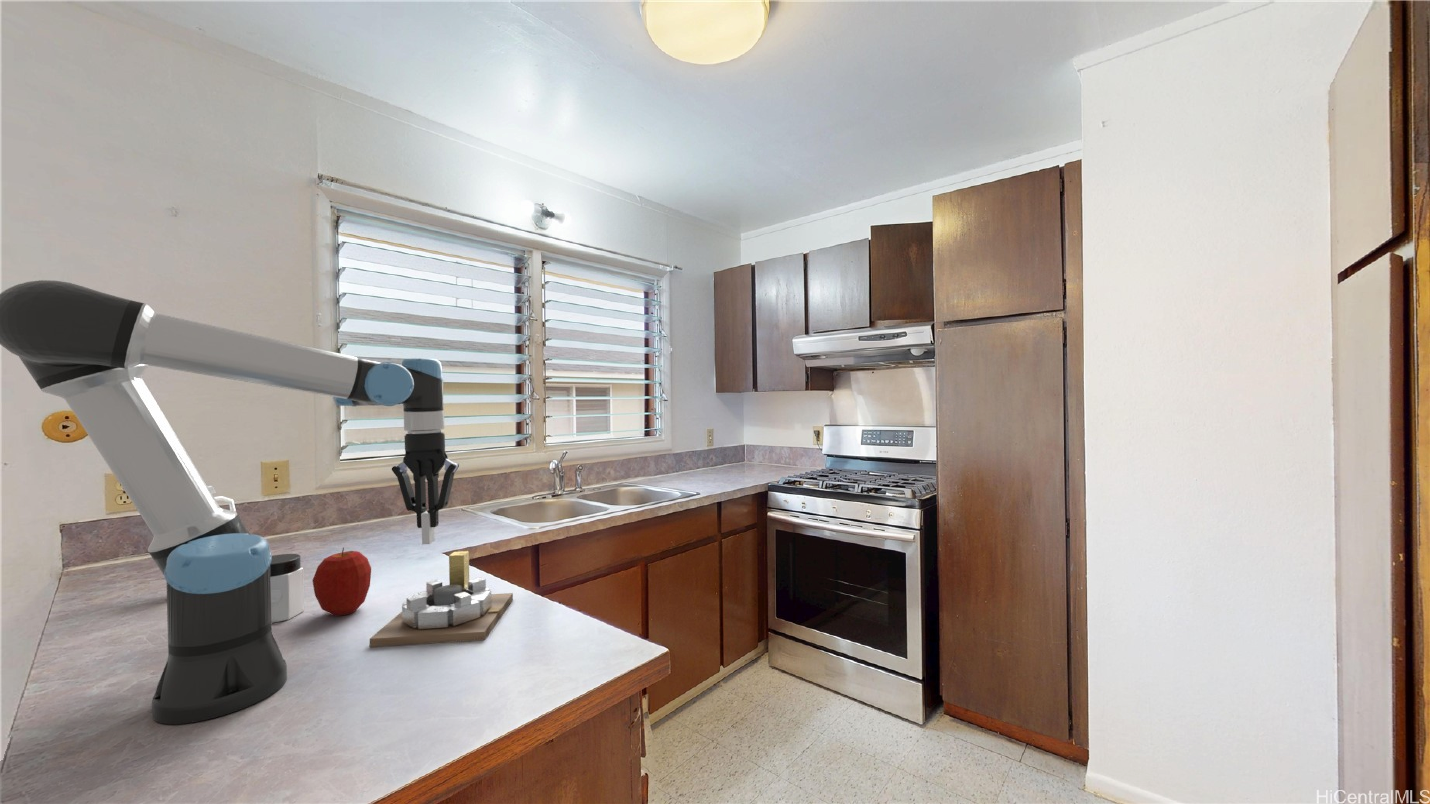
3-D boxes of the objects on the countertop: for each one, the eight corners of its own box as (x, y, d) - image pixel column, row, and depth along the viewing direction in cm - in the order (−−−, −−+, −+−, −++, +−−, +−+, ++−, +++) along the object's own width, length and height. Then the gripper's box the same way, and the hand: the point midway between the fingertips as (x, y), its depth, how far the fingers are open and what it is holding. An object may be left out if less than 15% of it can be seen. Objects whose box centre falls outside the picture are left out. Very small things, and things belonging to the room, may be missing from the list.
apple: (359, 600, 121) (358, 538, 121) (381, 609, 116) (380, 544, 115) (304, 616, 112) (303, 549, 112) (326, 626, 107) (324, 556, 107)
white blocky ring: (475, 625, 102) (474, 572, 102) (390, 630, 100) (388, 577, 100) (498, 595, 117) (498, 549, 117) (425, 599, 116) (424, 553, 116)
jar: (245, 628, 107) (244, 568, 107) (252, 615, 113) (251, 558, 113) (302, 617, 112) (301, 560, 111) (305, 605, 118) (304, 551, 118)
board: (484, 639, 100) (484, 604, 100) (369, 647, 98) (368, 611, 98) (512, 599, 120) (512, 570, 120) (417, 605, 118) (417, 575, 117)
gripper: (463, 429, 119) (466, 536, 119) (400, 431, 117) (404, 539, 118) (450, 431, 111) (454, 545, 112) (383, 434, 110) (387, 549, 110)
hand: (428, 542), depth 115 cm, fingers closed
